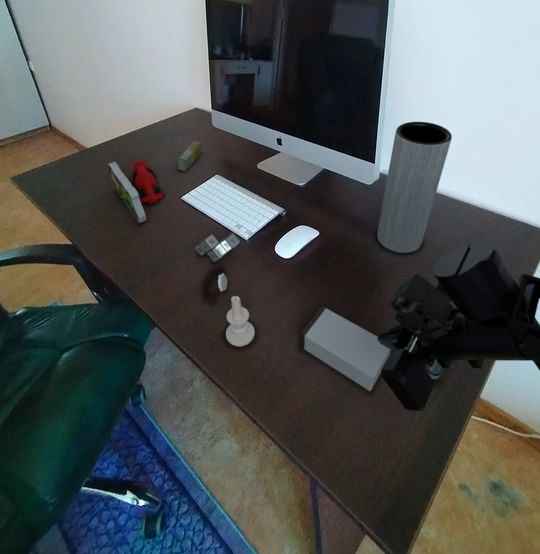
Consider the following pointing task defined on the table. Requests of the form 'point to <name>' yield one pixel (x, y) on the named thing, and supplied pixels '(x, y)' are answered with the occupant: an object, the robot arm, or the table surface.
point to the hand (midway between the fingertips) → (379, 339)
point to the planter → (412, 184)
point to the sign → (127, 192)
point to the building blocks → (216, 246)
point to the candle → (239, 324)
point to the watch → (221, 282)
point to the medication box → (189, 156)
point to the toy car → (145, 182)
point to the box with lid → (345, 347)
